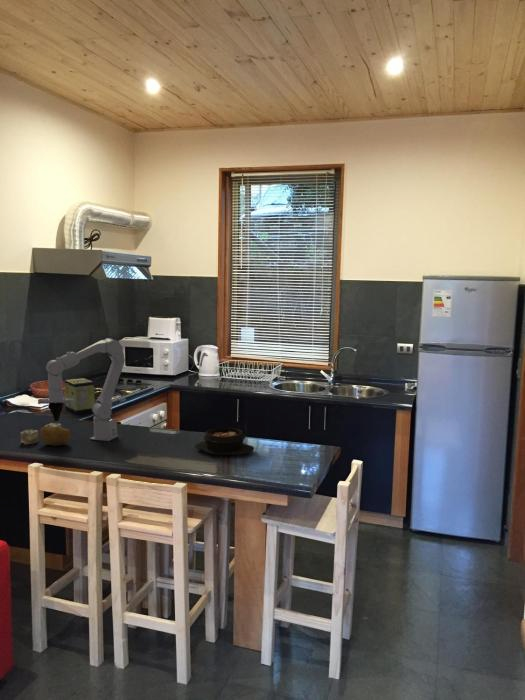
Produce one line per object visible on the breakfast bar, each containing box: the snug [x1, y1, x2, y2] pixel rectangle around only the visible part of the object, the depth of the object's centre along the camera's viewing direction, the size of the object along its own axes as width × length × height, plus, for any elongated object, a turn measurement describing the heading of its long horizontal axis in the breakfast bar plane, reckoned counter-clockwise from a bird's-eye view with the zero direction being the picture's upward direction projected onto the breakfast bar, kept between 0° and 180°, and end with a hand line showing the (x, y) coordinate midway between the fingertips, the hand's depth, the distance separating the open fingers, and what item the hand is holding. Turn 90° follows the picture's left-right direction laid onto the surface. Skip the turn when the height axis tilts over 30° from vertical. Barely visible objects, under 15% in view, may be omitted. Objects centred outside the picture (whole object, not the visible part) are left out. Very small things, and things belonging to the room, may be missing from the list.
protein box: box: [64, 377, 96, 414], centre depth 303 cm, size 10×16×16 cm
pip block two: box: [43, 422, 62, 428], centre depth 254 cm, size 5×5×5 cm
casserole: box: [194, 426, 255, 457], centre depth 233 cm, size 25×19×8 cm
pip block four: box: [20, 429, 40, 445], centre depth 244 cm, size 5×5×5 cm
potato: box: [39, 425, 72, 447], centre depth 240 cm, size 10×14×8 cm
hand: (56, 420), depth 240 cm, fingers closed
